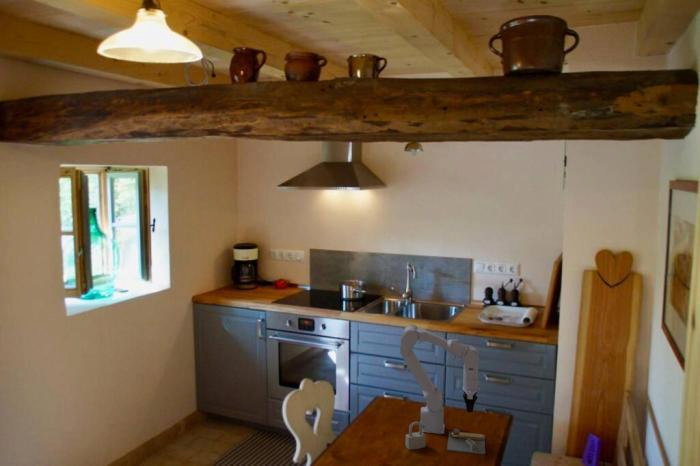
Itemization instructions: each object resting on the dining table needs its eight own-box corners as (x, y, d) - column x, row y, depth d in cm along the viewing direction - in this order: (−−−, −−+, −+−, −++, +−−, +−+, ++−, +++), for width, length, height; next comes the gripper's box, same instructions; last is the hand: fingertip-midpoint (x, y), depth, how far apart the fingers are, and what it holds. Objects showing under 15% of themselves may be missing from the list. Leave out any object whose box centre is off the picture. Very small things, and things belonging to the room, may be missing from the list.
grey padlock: (421, 443, 221) (421, 418, 220) (426, 447, 218) (426, 422, 217) (404, 446, 219) (405, 421, 218) (409, 450, 215) (409, 425, 214)
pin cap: (453, 433, 225) (453, 430, 225) (453, 431, 227) (453, 428, 227) (459, 434, 224) (459, 431, 224) (459, 431, 226) (459, 428, 226)
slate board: (447, 450, 215) (447, 449, 215) (449, 432, 230) (449, 431, 230) (485, 454, 212) (485, 453, 212) (484, 436, 227) (484, 434, 227)
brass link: (451, 437, 224) (451, 435, 224) (451, 433, 228) (451, 431, 228) (482, 440, 222) (482, 438, 222) (482, 436, 225) (482, 433, 225)
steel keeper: (465, 445, 218) (465, 439, 218) (469, 444, 219) (470, 438, 218) (471, 450, 214) (471, 444, 214) (476, 449, 215) (476, 443, 215)
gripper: (480, 384, 221) (480, 418, 222) (480, 371, 235) (480, 403, 236) (462, 382, 222) (461, 416, 224) (463, 370, 236) (462, 402, 238)
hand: (469, 409), depth 230 cm, fingers open, 4 cm apart
